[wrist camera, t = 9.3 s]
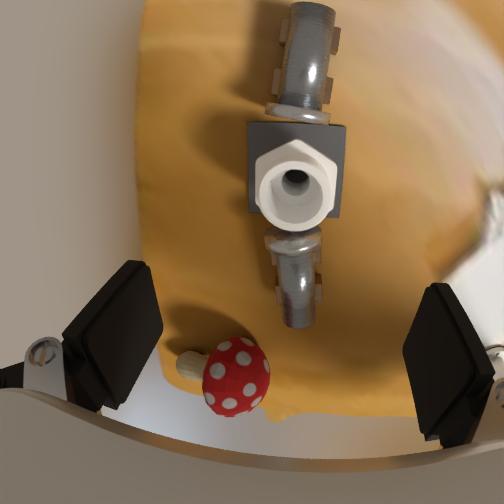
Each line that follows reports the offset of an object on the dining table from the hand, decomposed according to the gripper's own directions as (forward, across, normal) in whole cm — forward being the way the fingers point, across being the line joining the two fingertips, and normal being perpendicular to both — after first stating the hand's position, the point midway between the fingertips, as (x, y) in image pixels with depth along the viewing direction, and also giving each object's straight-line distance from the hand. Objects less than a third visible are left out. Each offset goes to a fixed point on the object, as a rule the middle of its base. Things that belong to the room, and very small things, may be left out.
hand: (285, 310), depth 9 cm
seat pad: (+20, 0, 0) cm, 20 cm away
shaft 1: (+20, 0, -10) cm, 23 cm away
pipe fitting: (+20, 0, 0) cm, 20 cm away
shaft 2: (+20, 0, +10) cm, 23 cm away
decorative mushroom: (+20, +9, +25) cm, 34 cm away
